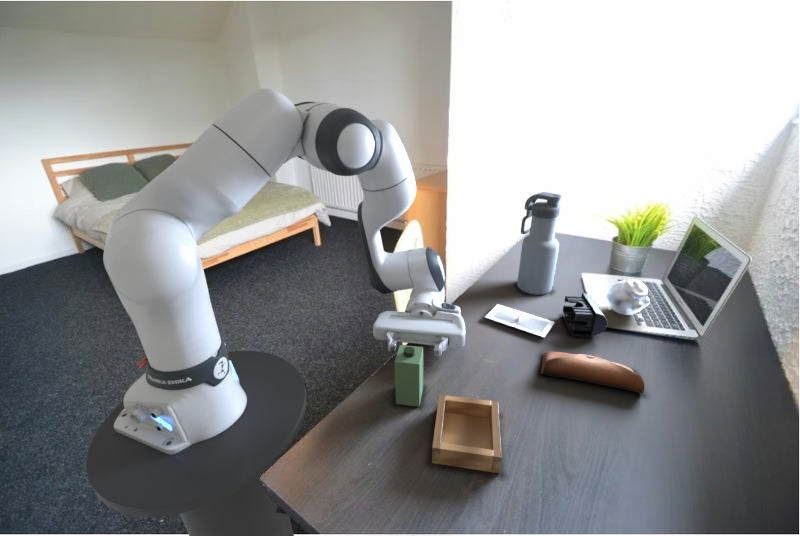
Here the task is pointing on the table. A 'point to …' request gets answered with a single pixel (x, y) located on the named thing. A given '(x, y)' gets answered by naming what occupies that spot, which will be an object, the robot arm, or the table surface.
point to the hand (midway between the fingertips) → (414, 351)
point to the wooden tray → (467, 434)
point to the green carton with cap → (409, 375)
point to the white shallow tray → (520, 320)
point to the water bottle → (539, 245)
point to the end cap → (584, 316)
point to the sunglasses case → (591, 370)
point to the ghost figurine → (628, 297)
